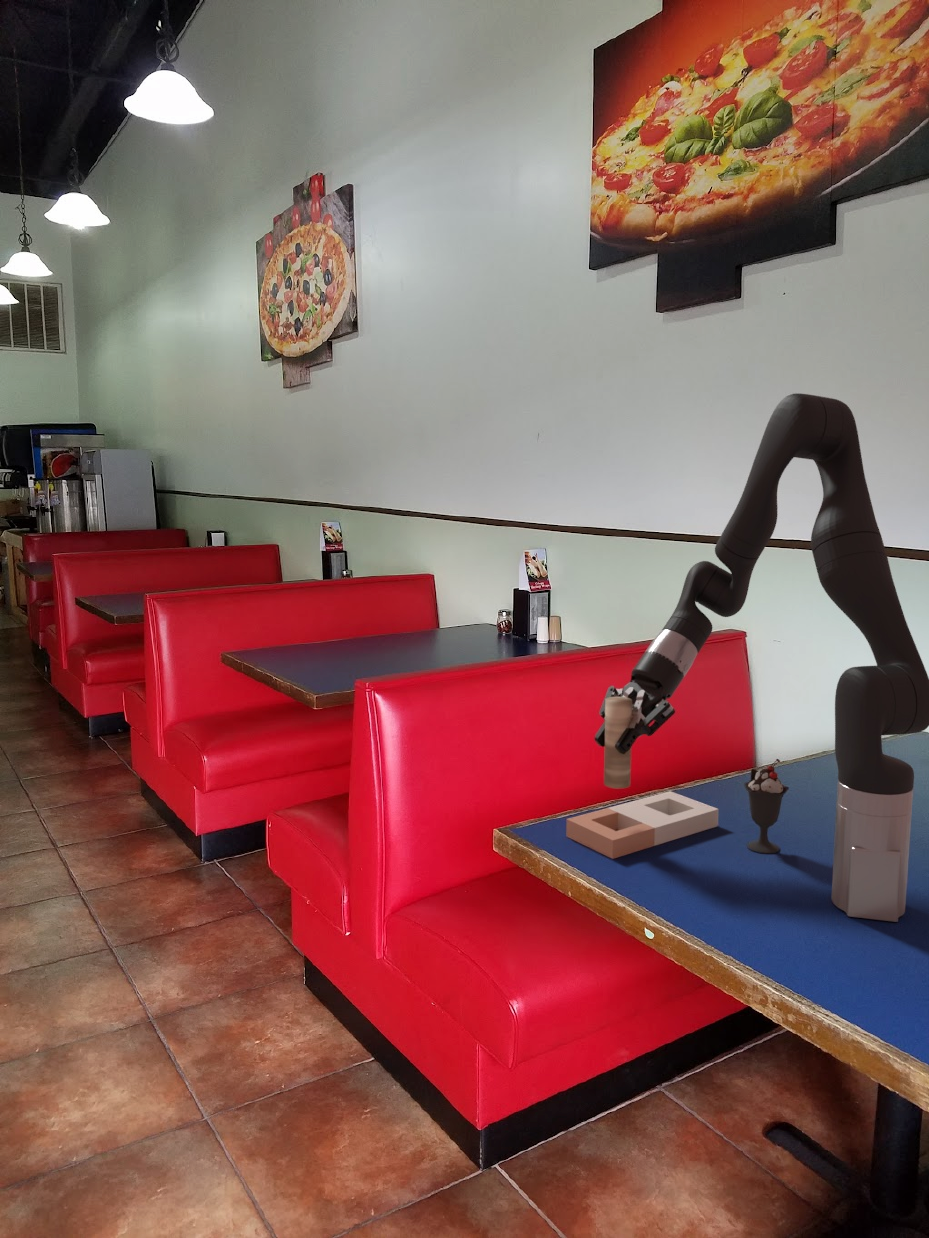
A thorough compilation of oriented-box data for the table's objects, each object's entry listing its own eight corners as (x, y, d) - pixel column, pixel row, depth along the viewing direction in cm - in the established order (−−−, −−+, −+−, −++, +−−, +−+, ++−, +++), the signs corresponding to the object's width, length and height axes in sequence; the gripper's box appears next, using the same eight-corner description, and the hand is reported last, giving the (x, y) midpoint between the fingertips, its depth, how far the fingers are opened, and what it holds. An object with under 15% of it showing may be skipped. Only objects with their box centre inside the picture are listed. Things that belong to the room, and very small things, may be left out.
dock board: (612, 858, 139) (612, 840, 139) (566, 836, 148) (566, 818, 148) (718, 826, 152) (718, 808, 152) (669, 807, 161) (670, 791, 161)
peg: (628, 789, 143) (630, 703, 141) (602, 787, 144) (603, 702, 142) (631, 781, 147) (633, 697, 145) (605, 778, 148) (607, 695, 146)
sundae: (786, 858, 139) (790, 764, 137) (740, 853, 141) (744, 760, 139) (785, 842, 145) (789, 752, 143) (742, 837, 147) (745, 748, 145)
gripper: (622, 643, 152) (567, 724, 148) (686, 656, 141) (628, 744, 136) (644, 670, 156) (591, 749, 151) (708, 685, 144) (652, 772, 140)
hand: (609, 746), depth 144 cm, fingers closed on peg, 4 cm apart
